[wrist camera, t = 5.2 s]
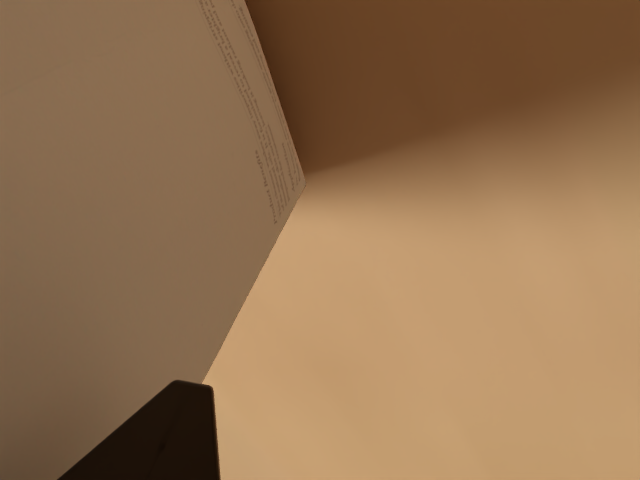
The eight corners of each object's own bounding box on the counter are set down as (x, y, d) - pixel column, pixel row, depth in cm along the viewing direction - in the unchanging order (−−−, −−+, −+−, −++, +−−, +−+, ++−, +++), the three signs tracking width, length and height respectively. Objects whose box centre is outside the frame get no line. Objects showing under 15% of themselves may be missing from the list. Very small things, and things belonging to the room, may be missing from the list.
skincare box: (70, -11, 18) (-837, 181, 6) (239, -72, 16) (-607, 18, 4) (174, 222, 22) (-244, 653, 9) (323, 196, 20) (43, 708, 7)
